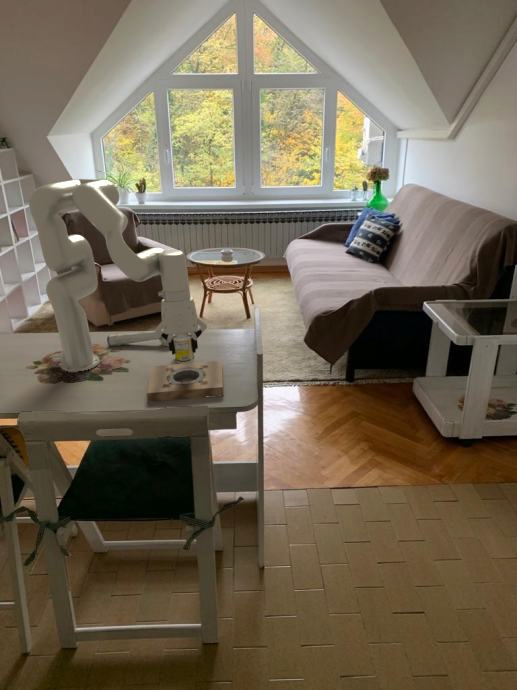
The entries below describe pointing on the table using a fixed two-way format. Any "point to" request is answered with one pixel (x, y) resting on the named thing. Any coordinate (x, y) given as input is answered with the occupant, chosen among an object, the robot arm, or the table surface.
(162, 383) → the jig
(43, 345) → the table surface
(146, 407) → the table surface
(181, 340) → the supplement bottle
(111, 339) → the grey elongated piece
